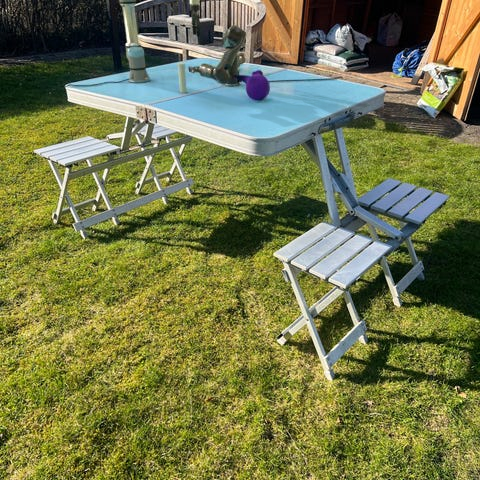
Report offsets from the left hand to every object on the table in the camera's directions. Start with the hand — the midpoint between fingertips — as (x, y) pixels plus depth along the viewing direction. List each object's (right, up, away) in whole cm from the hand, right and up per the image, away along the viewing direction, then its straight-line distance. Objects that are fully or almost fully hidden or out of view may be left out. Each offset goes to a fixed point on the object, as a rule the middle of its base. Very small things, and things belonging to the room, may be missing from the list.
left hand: (196, 35), depth 349 cm
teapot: (+28, -18, +23) cm, 41 cm away
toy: (+42, -70, -65) cm, 104 cm away
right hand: (+6, -51, -69) cm, 86 cm away
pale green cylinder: (-5, -59, -45) cm, 74 cm away
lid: (-5, -43, -54) cm, 69 cm away
